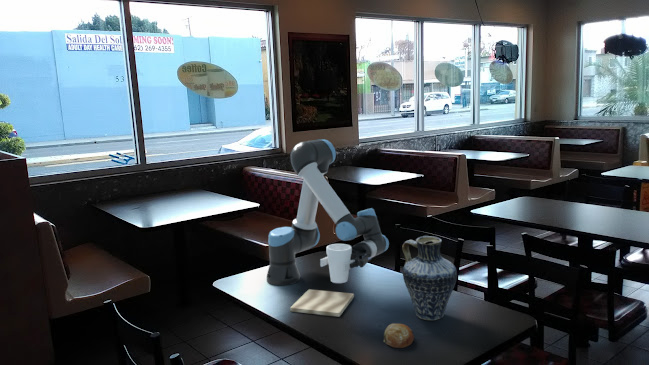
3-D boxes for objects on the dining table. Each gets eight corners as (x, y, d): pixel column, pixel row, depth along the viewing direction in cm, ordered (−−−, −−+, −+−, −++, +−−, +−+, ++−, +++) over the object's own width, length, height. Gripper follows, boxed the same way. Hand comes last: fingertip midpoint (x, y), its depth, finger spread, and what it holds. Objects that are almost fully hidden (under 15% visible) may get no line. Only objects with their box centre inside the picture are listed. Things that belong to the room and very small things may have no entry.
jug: (463, 311, 201) (463, 234, 195) (447, 332, 184) (447, 248, 179) (411, 302, 211) (411, 229, 206) (392, 321, 195) (391, 242, 190)
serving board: (290, 311, 206) (290, 307, 206) (308, 292, 225) (308, 289, 225) (339, 316, 200) (339, 313, 200) (354, 297, 218) (353, 293, 218)
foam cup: (352, 276, 204) (352, 244, 202) (350, 284, 195) (350, 250, 193) (327, 275, 205) (327, 243, 203) (325, 284, 196) (324, 250, 194)
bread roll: (383, 346, 183) (374, 328, 181) (407, 329, 186) (398, 312, 183) (397, 359, 174) (387, 341, 172) (421, 341, 176) (412, 323, 174)
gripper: (387, 264, 208) (357, 280, 190) (340, 255, 221) (308, 269, 203) (388, 246, 207) (357, 260, 189) (340, 238, 220) (308, 250, 202)
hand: (332, 265), depth 196 cm, fingers closed on foam cup, 9 cm apart
